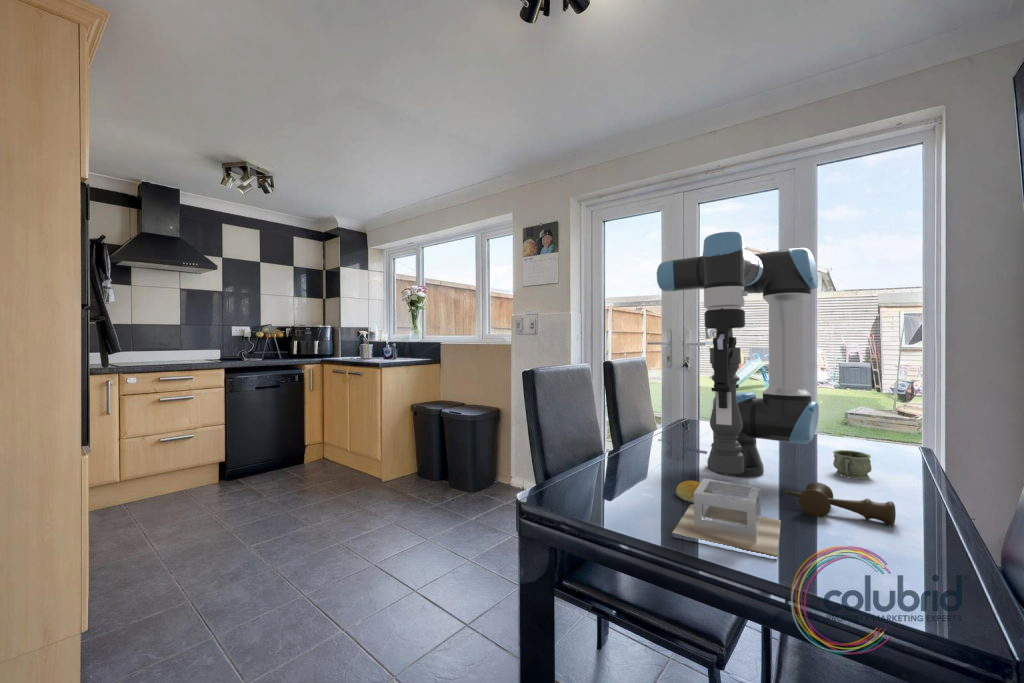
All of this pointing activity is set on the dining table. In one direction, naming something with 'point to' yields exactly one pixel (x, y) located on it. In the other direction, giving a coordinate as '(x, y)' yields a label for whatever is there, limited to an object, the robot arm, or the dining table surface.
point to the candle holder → (727, 427)
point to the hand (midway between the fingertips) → (726, 421)
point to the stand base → (764, 544)
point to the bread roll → (687, 490)
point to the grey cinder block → (727, 509)
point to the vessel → (852, 464)
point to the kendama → (842, 504)
